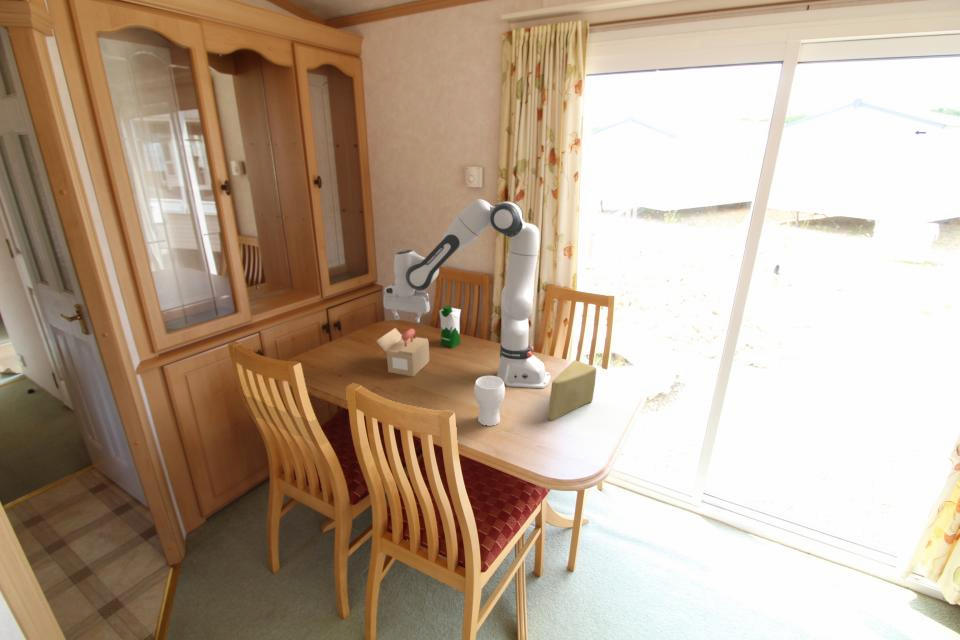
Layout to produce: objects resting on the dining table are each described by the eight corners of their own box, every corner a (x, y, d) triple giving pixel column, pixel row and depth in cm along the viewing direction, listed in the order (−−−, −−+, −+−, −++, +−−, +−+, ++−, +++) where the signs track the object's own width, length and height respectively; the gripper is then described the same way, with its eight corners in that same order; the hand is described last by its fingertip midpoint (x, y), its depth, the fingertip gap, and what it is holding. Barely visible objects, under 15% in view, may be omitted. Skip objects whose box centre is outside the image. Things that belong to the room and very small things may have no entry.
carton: (429, 361, 197) (428, 340, 194) (413, 376, 183) (412, 354, 179) (405, 357, 201) (404, 337, 197) (388, 372, 186) (386, 351, 183)
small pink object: (428, 340, 193) (427, 326, 191) (412, 354, 180) (411, 339, 177) (414, 338, 195) (413, 324, 193) (397, 352, 182) (396, 337, 179)
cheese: (561, 426, 149) (564, 387, 144) (538, 415, 155) (540, 378, 150) (593, 401, 164) (597, 366, 159) (571, 393, 171) (574, 358, 165)
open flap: (386, 350, 183) (385, 351, 184) (403, 337, 197) (402, 338, 197) (377, 340, 183) (375, 341, 183) (395, 327, 197) (394, 328, 197)
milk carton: (438, 345, 214) (437, 307, 207) (448, 339, 221) (448, 302, 214) (452, 349, 209) (452, 310, 203) (463, 343, 217) (462, 305, 210)
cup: (467, 419, 152) (467, 381, 147) (488, 408, 159) (489, 372, 154) (489, 432, 145) (489, 393, 140) (510, 420, 152) (511, 382, 147)
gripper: (432, 289, 179) (432, 321, 184) (388, 284, 185) (389, 315, 190) (425, 293, 174) (426, 326, 178) (380, 288, 180) (382, 319, 184)
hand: (407, 320), depth 184 cm, fingers open, 8 cm apart
